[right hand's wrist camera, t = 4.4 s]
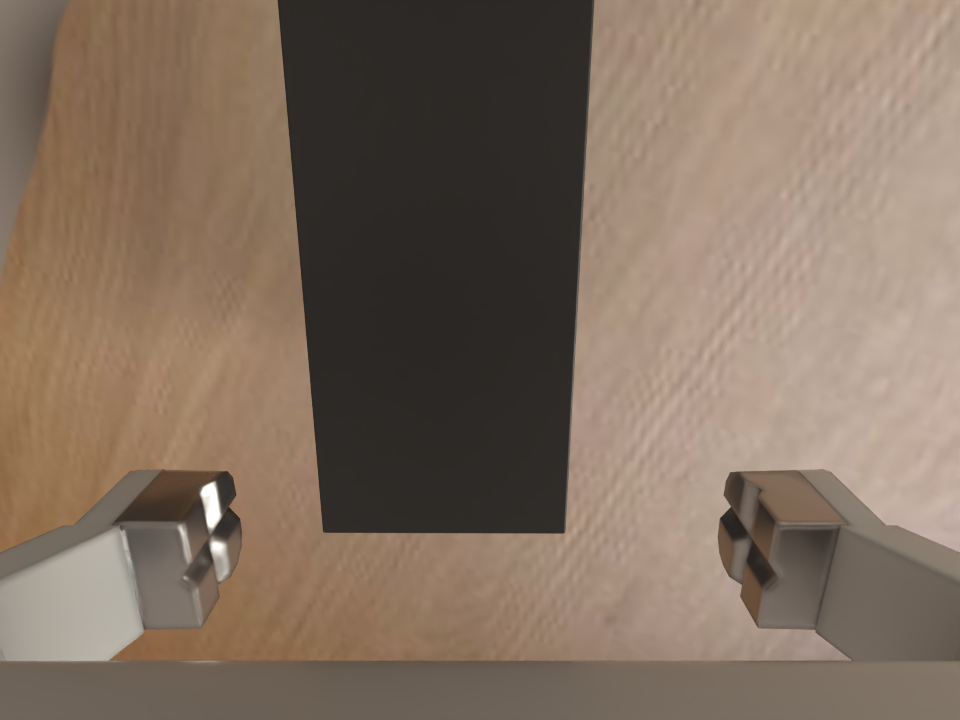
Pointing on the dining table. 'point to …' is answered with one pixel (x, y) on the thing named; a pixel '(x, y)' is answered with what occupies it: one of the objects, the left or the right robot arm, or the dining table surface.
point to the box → (439, 254)
